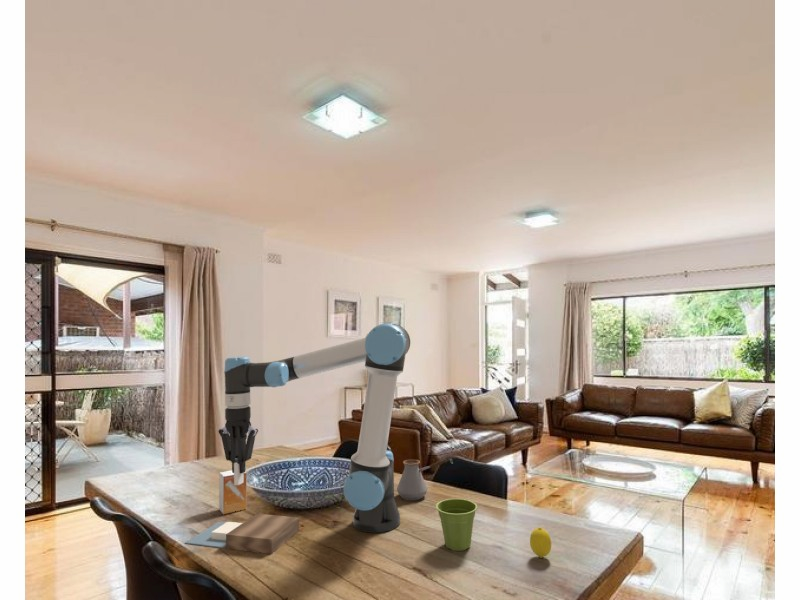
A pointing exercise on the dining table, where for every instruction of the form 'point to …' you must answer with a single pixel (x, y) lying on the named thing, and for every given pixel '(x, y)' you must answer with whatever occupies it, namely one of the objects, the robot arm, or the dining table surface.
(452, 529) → the plant pot
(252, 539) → the riser board
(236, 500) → the small box
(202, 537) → the mat
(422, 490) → the coffee pot
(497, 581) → the dining table surface
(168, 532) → the dining table surface
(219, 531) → the ceramic tile
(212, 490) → the dining table surface
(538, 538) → the lemon
